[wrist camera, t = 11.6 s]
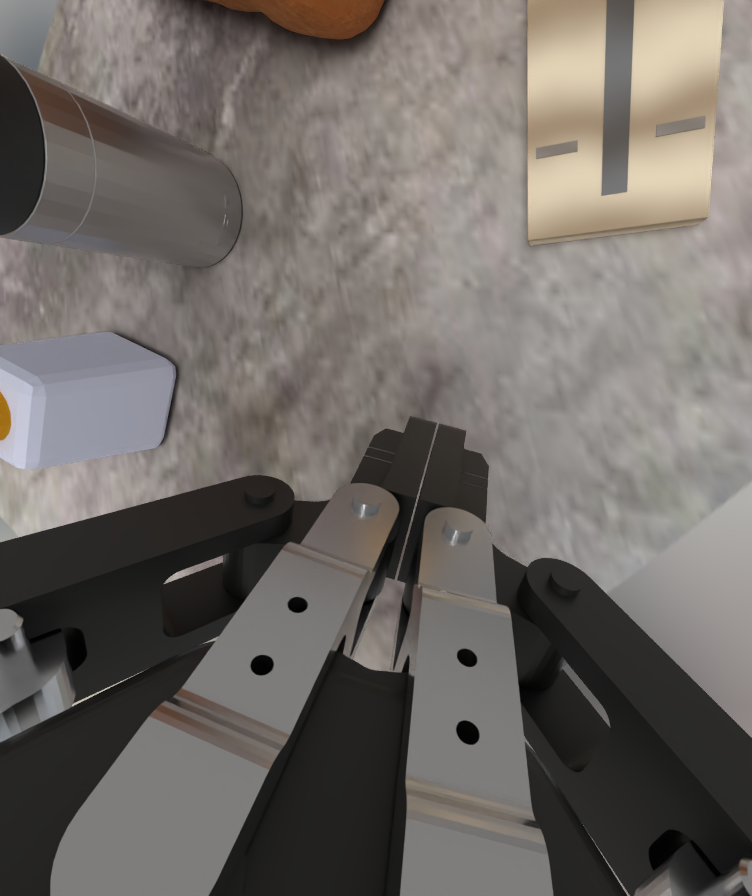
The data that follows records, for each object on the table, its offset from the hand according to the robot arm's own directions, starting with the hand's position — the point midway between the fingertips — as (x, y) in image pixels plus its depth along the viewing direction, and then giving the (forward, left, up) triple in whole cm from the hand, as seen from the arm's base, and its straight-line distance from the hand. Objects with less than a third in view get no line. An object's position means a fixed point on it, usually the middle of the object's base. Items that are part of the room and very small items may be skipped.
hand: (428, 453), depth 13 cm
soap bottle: (-35, -16, -26) cm, 47 cm away
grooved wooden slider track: (-3, +21, -26) cm, 34 cm away
